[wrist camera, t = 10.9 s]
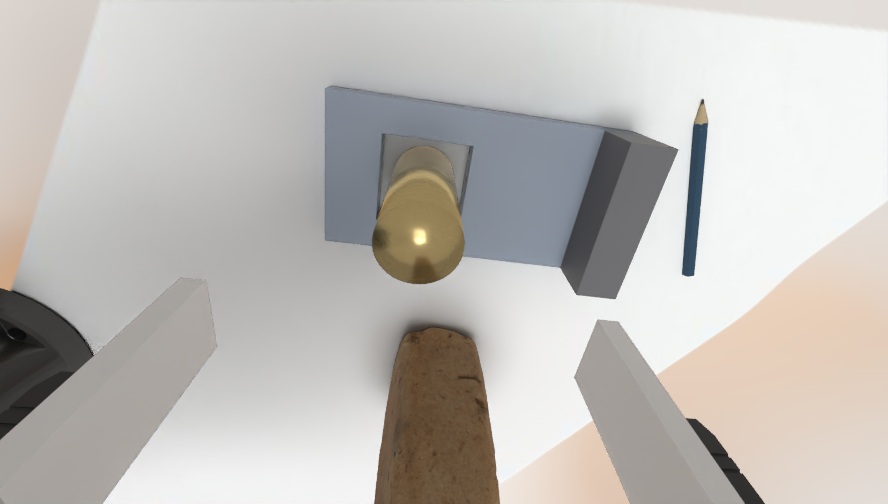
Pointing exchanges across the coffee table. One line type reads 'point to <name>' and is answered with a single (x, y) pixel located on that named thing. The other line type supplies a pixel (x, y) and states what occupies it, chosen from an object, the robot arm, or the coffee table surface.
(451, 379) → the block
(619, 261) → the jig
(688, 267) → the pencil
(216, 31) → the coffee table surface
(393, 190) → the brass cylinder rod
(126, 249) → the coffee table surface
